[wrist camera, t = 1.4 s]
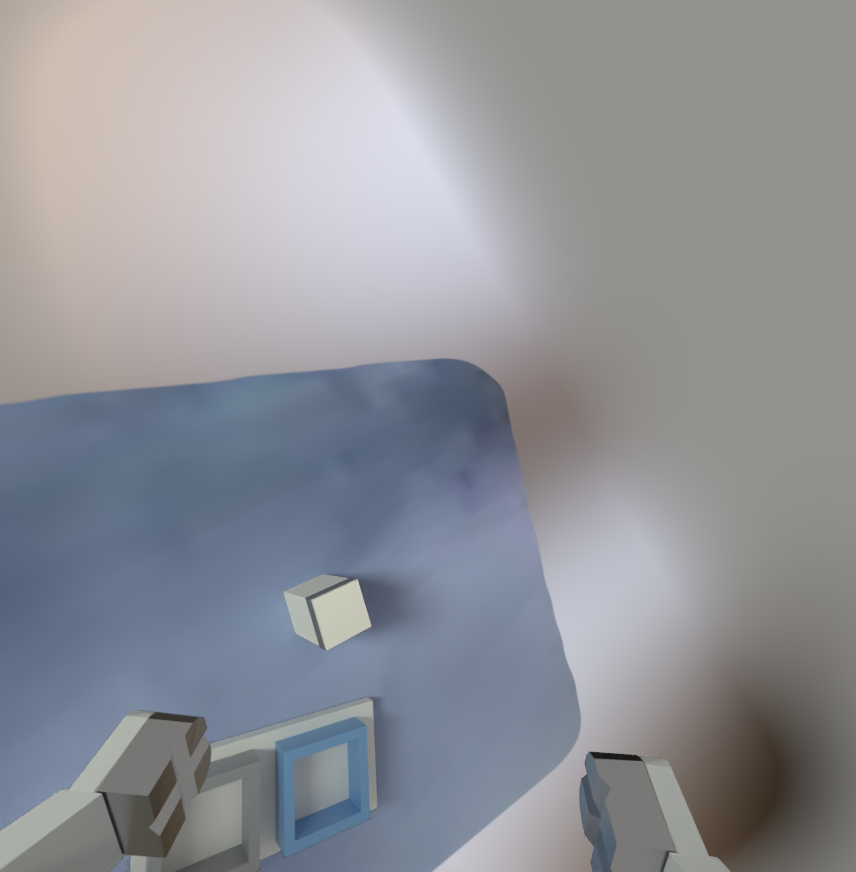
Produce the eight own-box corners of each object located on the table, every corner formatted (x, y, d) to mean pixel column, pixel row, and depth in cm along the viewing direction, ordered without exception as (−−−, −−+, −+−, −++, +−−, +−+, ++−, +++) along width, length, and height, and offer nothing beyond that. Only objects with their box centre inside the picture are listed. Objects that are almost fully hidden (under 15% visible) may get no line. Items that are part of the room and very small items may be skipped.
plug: (295, 634, 42) (326, 651, 35) (282, 591, 42) (311, 600, 35) (335, 614, 44) (372, 626, 38) (323, 573, 44) (358, 578, 38)
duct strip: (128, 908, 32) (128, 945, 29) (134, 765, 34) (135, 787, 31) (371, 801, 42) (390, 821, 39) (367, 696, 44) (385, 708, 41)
